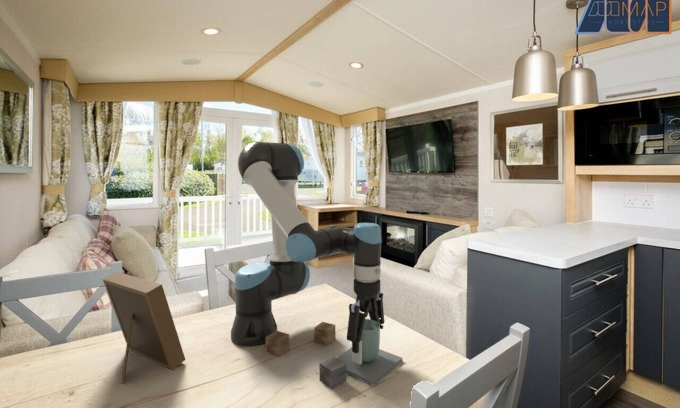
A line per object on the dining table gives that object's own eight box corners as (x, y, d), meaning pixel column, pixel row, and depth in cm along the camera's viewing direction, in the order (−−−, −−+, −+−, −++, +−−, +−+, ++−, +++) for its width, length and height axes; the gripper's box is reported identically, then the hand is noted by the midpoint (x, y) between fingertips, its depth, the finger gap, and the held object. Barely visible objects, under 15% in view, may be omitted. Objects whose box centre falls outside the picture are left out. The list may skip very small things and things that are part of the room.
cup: (378, 367, 95) (378, 332, 94) (350, 363, 96) (350, 329, 95) (380, 352, 102) (381, 319, 101) (354, 349, 104) (355, 317, 103)
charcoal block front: (319, 380, 91) (319, 362, 91) (334, 373, 94) (334, 356, 94) (331, 389, 87) (331, 371, 87) (346, 382, 91) (346, 363, 90)
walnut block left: (314, 342, 112) (314, 327, 111) (322, 336, 116) (322, 321, 116) (327, 346, 109) (327, 331, 109) (335, 339, 114) (335, 324, 113)
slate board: (329, 365, 98) (329, 362, 98) (360, 344, 110) (360, 341, 110) (373, 385, 89) (373, 382, 89) (402, 361, 101) (402, 357, 100)
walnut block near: (265, 352, 105) (265, 337, 105) (276, 345, 110) (276, 330, 109) (278, 357, 103) (278, 341, 102) (289, 349, 107) (288, 334, 107)
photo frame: (142, 343, 110) (137, 267, 108) (185, 363, 99) (181, 278, 97) (89, 366, 98) (82, 280, 95) (132, 391, 87) (125, 295, 84)
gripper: (355, 291, 87) (355, 377, 89) (397, 272, 103) (396, 345, 105) (332, 285, 91) (332, 367, 93) (376, 268, 108) (375, 338, 110)
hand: (366, 355), depth 99 cm, fingers open, 8 cm apart
